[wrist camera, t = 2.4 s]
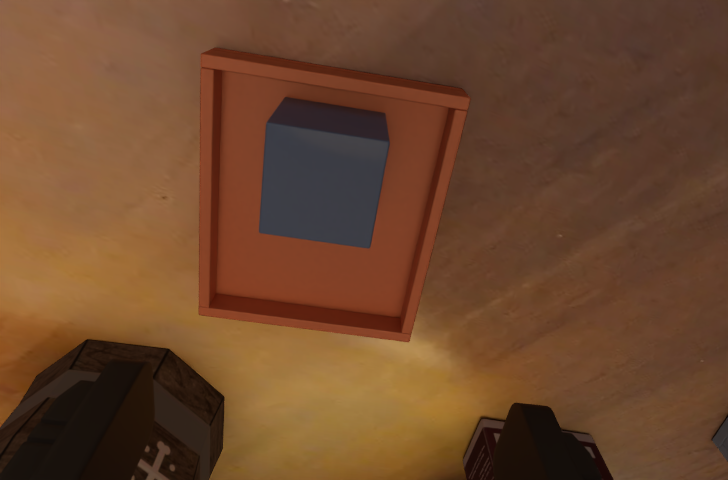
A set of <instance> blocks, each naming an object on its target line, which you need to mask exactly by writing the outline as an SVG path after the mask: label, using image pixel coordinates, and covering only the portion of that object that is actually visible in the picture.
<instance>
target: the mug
mask: <svg viewBox="0 0 728 480" xmlns="http://www.w3.org/2000/svg"><path fill="white" fill-rule="evenodd" d="M112 358H122V359H131V360H140V361H149V362H151V364H152V369H153V387H154V405H155V419H154V425H153V430H152V433H151V437H150V439H149V442H148V444H147V446H146V449H145V451H144V453H143V455H142V457H141V459H140V461H139V464H138V466H137V468H136V470H135V472H134V474H133V476H132V479H131V480H209V477H210V475H211V473H212V471H213V469H214V466H215V464H216V462H217V460H218V458H219V456H220V454H221V451H222V449H223V423H224V396H222V395H221V394H220V393H219V392H218V391H217V390H215V389H214V388H213V387H212V386H211V385H210V384H208V383H207V382H206V381H205V380H204V379H203V378H201V377H200V376H199V375H198V374H197V373H196V372H194V371H193V370H192V369H191V368H190V367H189V366H187V365H186V364H185V363H184V362H183V361H182V360H181V359H179V358H178V357H177V356H176V355H175V354H174V353H172V352H171V351H170V350H169V349H162V348H153V347H145V346H136V345H128V344H120V343H111V342H103V341H94V340H86V341H84V342H83V343H82V344H80V345H79V346H77V347H76V348H75V349H73V350H72V351H71V352H69V353H68V354H66V355H65V356H64V357H62V358H61V359H59V360H58V361H57V362H55V363H54V364H52V365H51V366H50V367H48V368H47V369H46V370H44V371H43V372H41V373H40V374H39V375H37V376H36V378H35V380H34V381H33V383H32V384H31V386H30V388H29V389H28V391H27V392H26V394H25V396H24V397H23V399H22V400H21V402H20V404H19V405H18V406H17V408H16V409H15V410H14V411H13V413H12V414H11V415H10V416H9V417H8V419H7V420H6V421H5V422H4V423H3V425H2V426H1V427H0V473H1V472H2V471H3V469H4V468H5V466H6V465H7V464H8V462H9V461H10V460H11V458H12V457H13V456H14V454H15V453H16V452H17V450H18V449H19V448H20V446H21V445H22V444H23V442H26V441H27V437H28V435H29V434H30V433H31V431H32V430H33V429H34V427H35V426H36V425H37V423H40V421H41V418H42V417H43V415H44V414H45V413H46V411H47V410H48V409H49V407H50V406H51V404H52V403H53V402H54V400H55V399H56V398H57V397H58V396H59V395H61V394H62V393H63V392H65V391H66V390H68V389H69V388H70V387H72V386H73V385H75V384H76V383H77V382H79V381H80V380H86V381H96V380H97V378H98V377H99V375H100V374H101V372H102V371H103V369H104V368H105V366H106V365H107V363H108V362H109V361H110V360H111V359H112Z"/></svg>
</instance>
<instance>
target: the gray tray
mask: <svg viewBox="0 0 728 480" xmlns="http://www.w3.org/2000/svg"><path fill="white" fill-rule="evenodd" d="M712 441H713V442H714V444H715V445H716V446H717V448H719V450H720V452H721V453H722V454H723V456H724V457H725V458H726V460H727V461H728V417H727V419H726V420H725V422H724V423H723V425H722V426H721V427H720V429H719V430H718V432H717V433H716V435H715V436H714V438H713V439H712Z"/></svg>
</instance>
